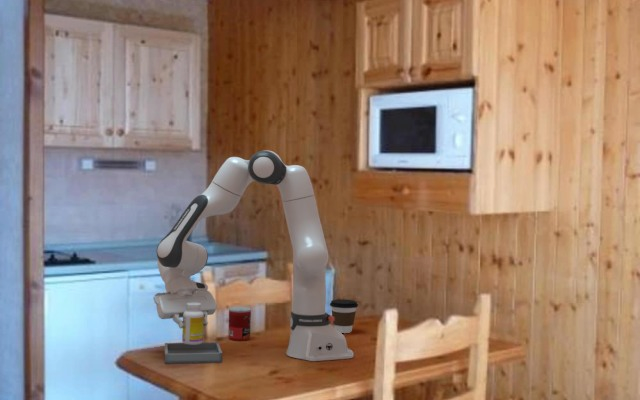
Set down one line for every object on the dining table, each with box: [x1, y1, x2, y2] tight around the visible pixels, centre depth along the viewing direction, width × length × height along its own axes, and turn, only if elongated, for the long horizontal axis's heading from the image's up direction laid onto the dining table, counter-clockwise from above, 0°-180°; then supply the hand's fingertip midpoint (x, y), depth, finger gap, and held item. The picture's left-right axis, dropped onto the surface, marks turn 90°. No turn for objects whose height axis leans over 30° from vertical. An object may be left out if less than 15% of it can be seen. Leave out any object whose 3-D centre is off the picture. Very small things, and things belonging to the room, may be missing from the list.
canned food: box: [227, 306, 252, 342], centre depth 270 cm, size 8×8×11 cm
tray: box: [164, 341, 223, 365], centre depth 241 cm, size 18×16×3 cm
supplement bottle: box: [181, 302, 204, 345], centre depth 241 cm, size 7×7×13 cm
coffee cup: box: [329, 298, 359, 334], centre depth 287 cm, size 11×11×12 cm
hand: (194, 326), depth 240 cm, fingers closed on supplement bottle, 7 cm apart
